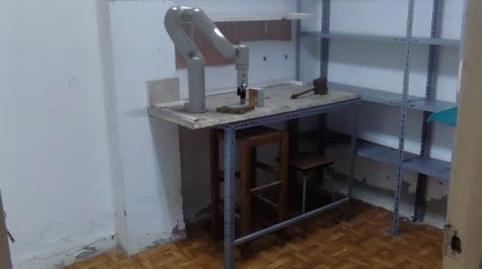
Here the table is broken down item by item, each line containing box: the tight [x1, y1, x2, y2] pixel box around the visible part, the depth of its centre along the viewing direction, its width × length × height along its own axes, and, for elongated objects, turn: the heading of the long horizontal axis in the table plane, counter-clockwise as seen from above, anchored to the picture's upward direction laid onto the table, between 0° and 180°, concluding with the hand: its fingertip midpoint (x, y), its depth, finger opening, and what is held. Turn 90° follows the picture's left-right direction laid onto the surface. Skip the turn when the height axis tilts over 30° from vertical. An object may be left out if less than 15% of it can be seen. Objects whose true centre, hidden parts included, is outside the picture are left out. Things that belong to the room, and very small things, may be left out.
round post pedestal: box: [224, 98, 247, 109], centre depth 282 cm, size 12×12×8 cm
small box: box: [248, 87, 265, 108], centre depth 296 cm, size 8×6×10 cm
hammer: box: [290, 76, 329, 99], centre depth 327 cm, size 7×33×10 cm, turn 131°
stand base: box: [216, 104, 256, 115], centre depth 284 cm, size 16×16×2 cm
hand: (241, 97), depth 283 cm, fingers open, 9 cm apart
